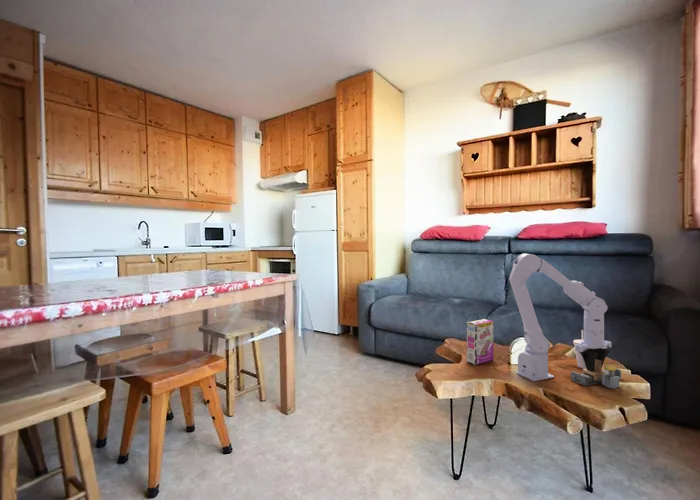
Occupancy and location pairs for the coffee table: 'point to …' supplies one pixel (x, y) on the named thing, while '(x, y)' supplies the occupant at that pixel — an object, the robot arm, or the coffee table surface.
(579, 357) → the smoothie
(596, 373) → the carriage
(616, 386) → the post
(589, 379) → the rail
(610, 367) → the gauge button
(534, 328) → the robot arm
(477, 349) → the candy bar box
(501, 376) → the coffee table surface
